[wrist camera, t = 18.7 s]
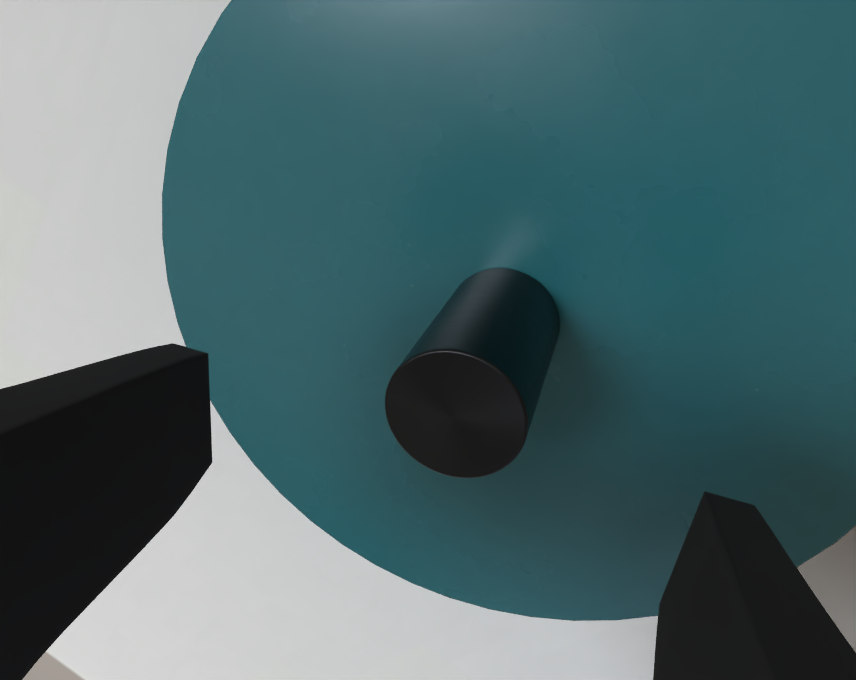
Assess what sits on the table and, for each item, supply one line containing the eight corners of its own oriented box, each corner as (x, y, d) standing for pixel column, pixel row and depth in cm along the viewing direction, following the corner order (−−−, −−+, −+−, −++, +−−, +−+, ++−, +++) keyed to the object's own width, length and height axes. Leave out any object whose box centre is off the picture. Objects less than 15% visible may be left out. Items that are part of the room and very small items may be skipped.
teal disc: (772, 671, 17) (810, 893, 13) (200, 485, 21) (78, 610, 16) (1192, -97, 10) (1643, -194, 5) (170, -186, 13) (-76, -290, 9)
